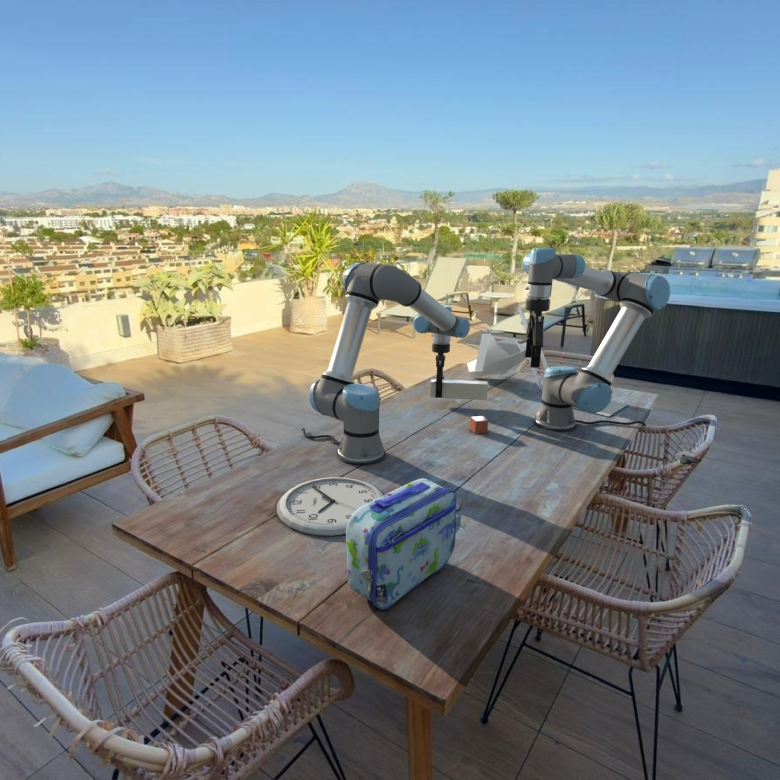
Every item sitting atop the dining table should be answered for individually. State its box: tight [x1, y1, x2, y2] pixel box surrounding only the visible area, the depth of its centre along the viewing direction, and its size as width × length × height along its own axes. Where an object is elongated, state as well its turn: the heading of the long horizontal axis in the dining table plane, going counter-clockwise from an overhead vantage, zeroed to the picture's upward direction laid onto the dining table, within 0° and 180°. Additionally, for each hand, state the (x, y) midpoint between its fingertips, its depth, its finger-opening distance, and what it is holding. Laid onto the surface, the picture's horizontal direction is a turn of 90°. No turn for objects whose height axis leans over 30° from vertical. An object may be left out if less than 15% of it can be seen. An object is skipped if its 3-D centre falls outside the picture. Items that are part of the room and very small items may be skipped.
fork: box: [456, 495, 462, 511], centre depth 138 cm, size 3×16×2 cm, turn 160°
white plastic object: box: [466, 306, 549, 391], centre depth 258 cm, size 37×45×31 cm
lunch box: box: [345, 477, 457, 610], centre depth 110 cm, size 26×11×21 cm, turn 134°
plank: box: [429, 378, 489, 401], centre depth 224 cm, size 24×4×7 cm, turn 83°
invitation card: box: [573, 400, 628, 418], centre depth 226 cm, size 21×1×15 cm
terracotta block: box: [469, 415, 489, 435], centre depth 196 cm, size 5×5×5 cm
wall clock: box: [276, 476, 385, 537], centre depth 143 cm, size 30×2×30 cm
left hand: (438, 395), depth 226 cm, fingers closed on plank, 4 cm apart
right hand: (531, 362), depth 174 cm, fingers open, 13 cm apart
